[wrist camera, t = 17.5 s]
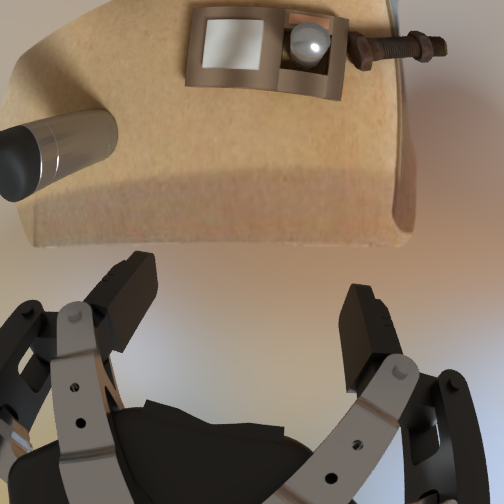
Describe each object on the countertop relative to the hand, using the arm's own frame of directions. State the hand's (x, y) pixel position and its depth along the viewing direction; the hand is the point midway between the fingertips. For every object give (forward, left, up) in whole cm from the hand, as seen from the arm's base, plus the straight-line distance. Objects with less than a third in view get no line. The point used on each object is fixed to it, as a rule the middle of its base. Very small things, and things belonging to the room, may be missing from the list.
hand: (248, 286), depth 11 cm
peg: (+2, +15, -30) cm, 34 cm away
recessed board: (-3, +15, -30) cm, 34 cm away
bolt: (+15, +19, -30) cm, 39 cm away
